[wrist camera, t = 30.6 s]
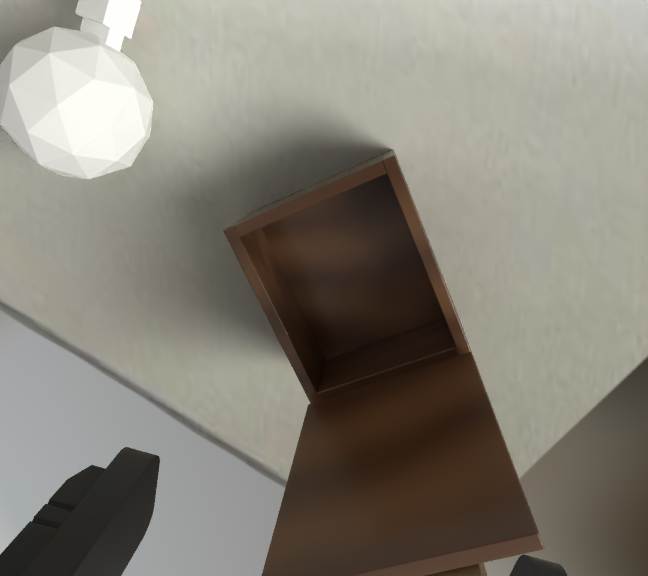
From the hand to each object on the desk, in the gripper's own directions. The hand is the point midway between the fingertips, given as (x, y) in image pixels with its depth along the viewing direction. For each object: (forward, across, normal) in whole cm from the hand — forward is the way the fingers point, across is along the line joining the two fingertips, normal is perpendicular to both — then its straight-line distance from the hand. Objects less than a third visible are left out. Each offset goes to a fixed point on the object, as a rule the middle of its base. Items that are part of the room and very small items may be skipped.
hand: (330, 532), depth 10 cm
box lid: (+13, +3, -7) cm, 15 cm away
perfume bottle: (+27, -20, +6) cm, 34 cm away
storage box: (+27, -1, -2) cm, 27 cm away
